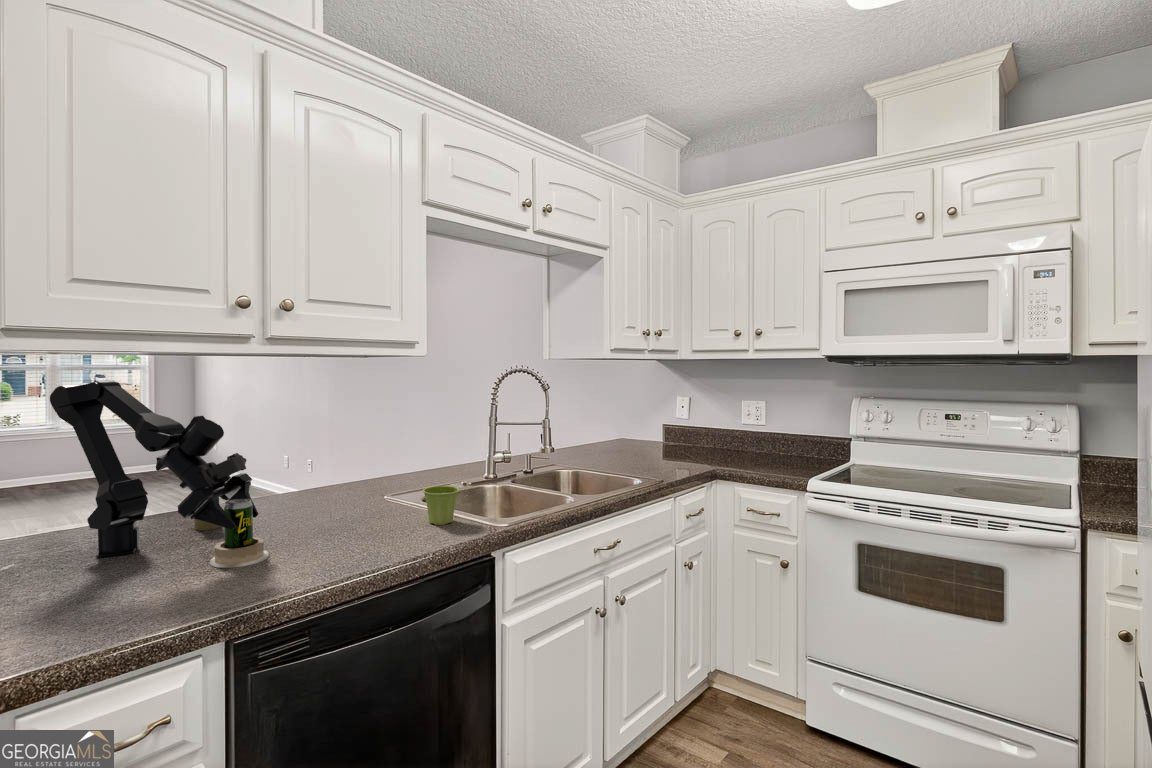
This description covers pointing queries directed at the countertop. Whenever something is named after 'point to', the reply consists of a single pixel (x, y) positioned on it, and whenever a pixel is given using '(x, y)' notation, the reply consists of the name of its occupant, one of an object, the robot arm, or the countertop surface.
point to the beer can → (239, 524)
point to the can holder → (239, 555)
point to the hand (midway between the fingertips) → (245, 521)
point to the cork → (204, 525)
